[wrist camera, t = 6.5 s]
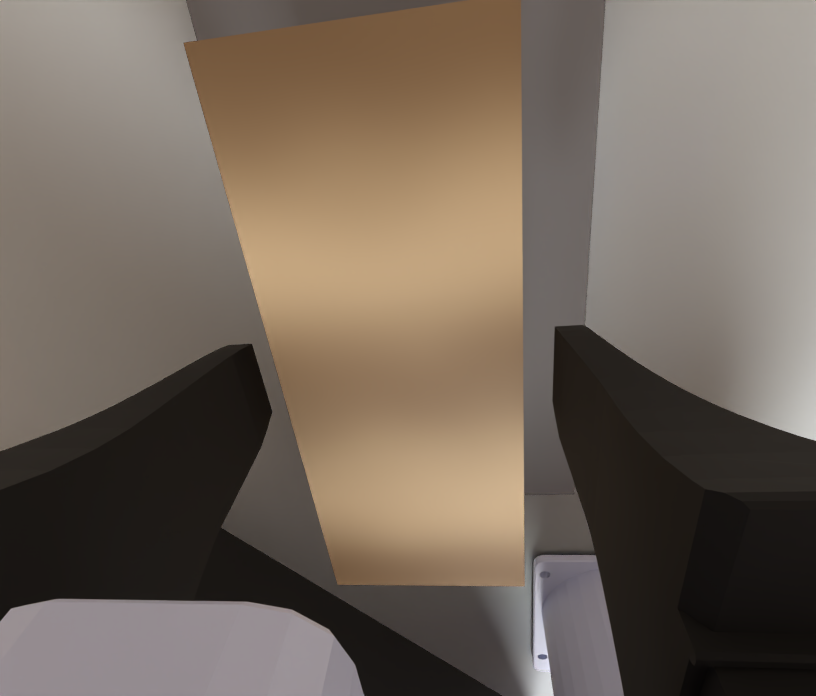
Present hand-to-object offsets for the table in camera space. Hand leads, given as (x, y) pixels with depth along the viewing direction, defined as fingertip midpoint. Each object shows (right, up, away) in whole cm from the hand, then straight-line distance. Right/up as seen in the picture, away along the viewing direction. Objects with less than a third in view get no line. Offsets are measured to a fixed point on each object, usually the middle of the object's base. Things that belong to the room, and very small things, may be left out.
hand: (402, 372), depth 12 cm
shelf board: (0, +1, +2) cm, 3 cm away
